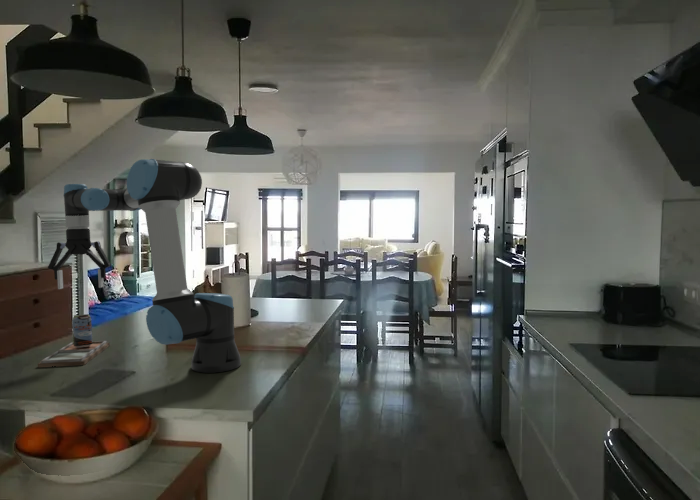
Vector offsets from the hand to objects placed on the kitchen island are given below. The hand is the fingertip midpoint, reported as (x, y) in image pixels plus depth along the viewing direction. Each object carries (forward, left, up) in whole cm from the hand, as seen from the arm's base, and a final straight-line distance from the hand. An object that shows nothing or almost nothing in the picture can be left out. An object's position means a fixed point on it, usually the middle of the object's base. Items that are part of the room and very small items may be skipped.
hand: (81, 288), depth 189 cm
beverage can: (0, 0, -22) cm, 22 cm away
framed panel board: (-7, 0, -23) cm, 24 cm away
